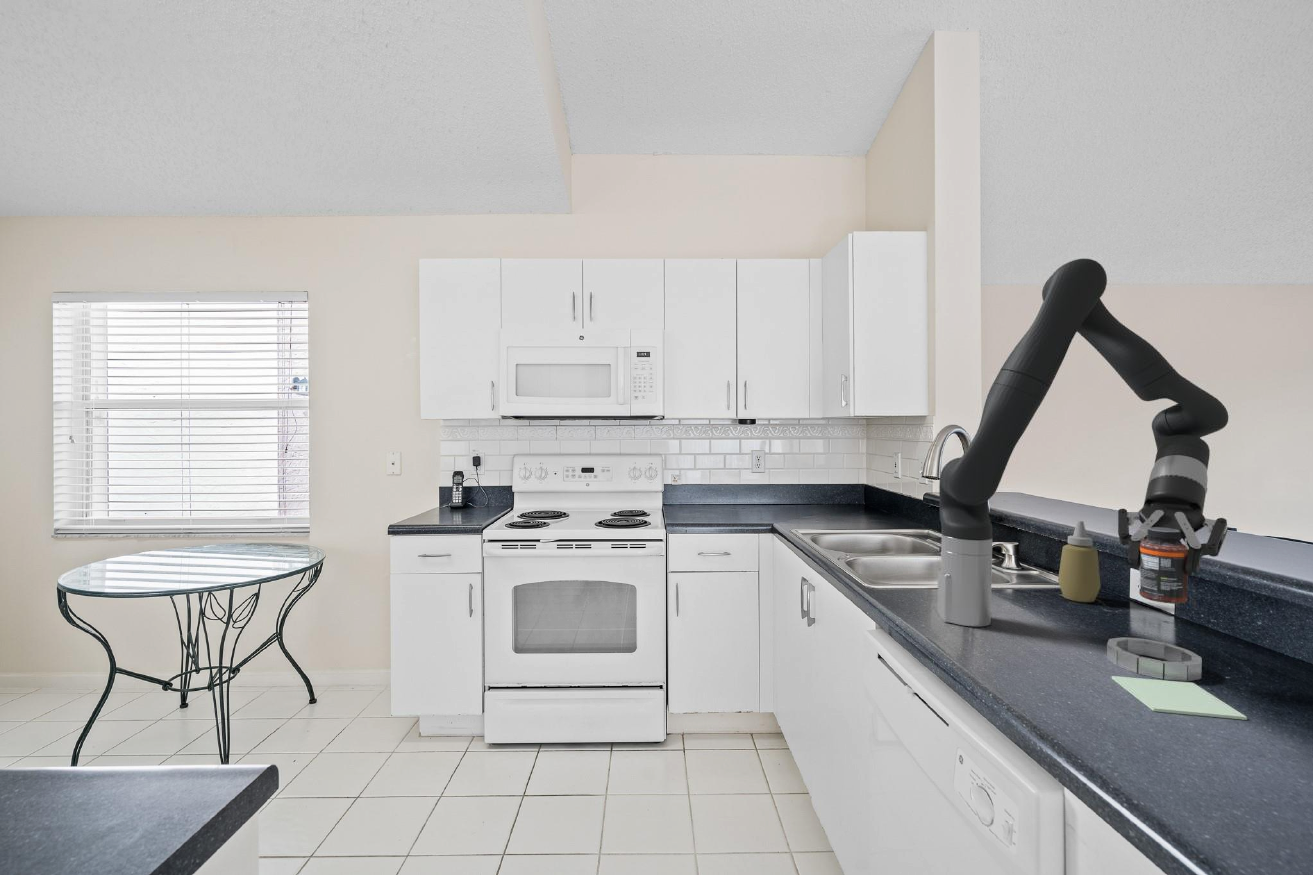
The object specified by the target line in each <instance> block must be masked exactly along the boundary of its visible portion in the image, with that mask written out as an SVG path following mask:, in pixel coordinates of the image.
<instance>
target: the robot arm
mask: <svg viewBox="0 0 1313 875" xmlns="http://www.w3.org/2000/svg"><path fill="white" fill-rule="evenodd" d="M1107 276H1108V275H1107V272H1106V270H1105V268H1104V267H1103V265H1102V264H1101V263H1099V262H1098V261H1096V260H1094V259H1091V258H1077V259H1073V260H1070V261H1068V262H1066V263H1064V264H1062V265H1061V266H1060V267H1058V268H1056V270H1055V271H1054V272H1053V273H1052V275H1050V277H1049V278H1048V279H1047V280H1046V282H1045V283H1044V285H1043V288H1042V290H1041V296H1042V304H1041V307H1040V309H1039V311H1038V313H1037V315H1036V318H1035V319H1034V321H1033V323H1032V324H1031V326H1030V327H1029V329H1028V330H1027V331H1026V332H1025V334H1024V335H1023V336H1022V337H1021V339H1020V340H1019V342H1017V344H1016V346H1014V348H1013V350H1011V352H1010V354H1009V355H1008V357H1007V358H1006V360H1005V361H1004V363H1003V365H1001V366H1002V367H1001V368H1000V370H999V371H998V373H997V375H996V377H995V379H994V381H993V383H992V385H991V387H990V389H989V391H988V393H987V396H986V399H985V403H984V406H983V411H982V414H981V417H980V422H979V425H978V428H977V431H976V434H975V435H974V437H973V438H972V440H971V442H970V443H969V446H968V447H967V448H966V450H965V452H963V455H962V456H961V457H957V458H954V459H951V460H949V461H948V462H947V463H946V464H945V465H944V466H943V468H942V470H941V471H940V475H939V484H938V485H939V487H938V488H939V490H938V491H939V492H938V494H939V497H938V498H939V500H938V501H939V520H940V524H941V548H940V549H941V550H940V552H941V556H940V560H941V561H940V568H938V570H937V614H938V616H939V617H940V618H941V620H942V621H943V622H944V623H951V624H955V625H960V626H965V627H966V626H967V627H977V628H978V627H987V626H989V625H991V624H992V623H991V621H992V620H991V619H992V578H993V577H992V570H993V568H992V565H993V525H992V522H991V519H990V515H989V500H991V498H992V497H993V496H994V495H995V493H996V491H997V490H998V488H999V485H1000V483H1001V481H1002V478H1003V475H1004V473H1005V471H1006V468H1007V466H1008V462H1009V460H1010V458H1011V456H1012V454H1013V452H1014V449H1015V447H1016V446H1017V443H1019V441H1020V440H1021V437H1023V434H1024V433H1025V431H1026V430H1027V428H1028V426H1029V425H1030V424H1031V421H1032V420H1033V417H1034V416H1035V415H1036V413H1037V411H1038V409H1039V407H1040V406H1041V404H1042V402H1043V400H1045V398H1046V395H1047V394H1048V392H1049V390H1050V389H1051V386H1052V384H1053V382H1054V380H1055V378H1056V376H1057V375H1058V372H1059V371H1060V368H1061V366H1062V363H1063V361H1064V360H1065V357H1066V354H1067V352H1068V351H1069V348H1070V346H1071V343H1072V341H1073V339H1074V337H1075V336H1076V334H1079V335H1080V336H1081V337H1083V338H1084V340H1085V341H1087V343H1089V344H1090V345H1091V346H1092V347H1093V348H1094V349H1095V350H1096V351H1097V352H1098V354H1100V355H1101V356H1102V358H1103V359H1105V361H1106V362H1107V363H1108V364H1109V365H1110V366H1111V367H1112V368H1113V370H1114V371H1115V372H1116V373H1117V374H1118V375H1119V376H1120V378H1121V379H1122V380H1123V381H1124V383H1126V385H1127V386H1128V387H1129V388H1130V389H1131V391H1132V392H1133V393H1134V394H1135V395H1136V396H1137V397H1138V398H1139V399H1140V400H1142V401H1143V402H1153V401H1158V400H1163V399H1165V400H1166V399H1167V400H1170V401H1172V402H1174V403H1176V404H1174V405H1172V406H1169V407H1167V408H1165V409H1162V410H1161V411H1159V412H1158V413H1157V414H1156V415H1155V416H1154V417H1153V419H1152V422H1151V430H1152V434H1153V436H1154V438H1153V439H1154V442H1155V445H1156V455H1155V459H1154V464H1153V467H1152V469H1151V471H1150V475H1149V478H1148V482H1147V483H1148V484H1147V488H1146V493H1145V498H1144V502H1143V506H1142V508H1141V509H1139V511H1128V510H1127V509H1126V508H1119V509H1118V511H1117V514H1118V515H1117V516H1118V517H1117V518H1118V519H1117V526H1118V527H1117V534H1118V540H1119V544H1120V545H1122V546H1129V548H1128V554H1127V559H1128V562H1129V564H1132V567H1133V568H1136V569H1137V568H1139V565H1140V544H1141V542H1143V541H1144V540H1146V539H1147V538H1148V535H1147V534H1148V528H1151V527H1160V528H1171V529H1176V530H1179V531H1180V537H1181V538H1180V541H1181V540H1182V541H1183V543H1184V545H1185V546H1186V547H1187V548H1188V555H1187V561H1186V575H1188V576H1189V577H1190V576H1191V577H1192V576H1193V574H1194V573H1195V574H1198V573H1199V572H1200V566H1201V562H1202V557H1204V556H1210V557H1211V558H1212V557H1213V558H1215V557H1217V556H1219V554H1220V551H1221V549H1222V546H1223V544H1224V541H1225V538H1226V536H1227V533H1228V521H1227V519H1226V518H1224V517H1218V518H1217V519H1211V518H1206V516H1205V515H1204V508H1205V502H1206V494H1207V492H1208V481H1209V480H1208V467H1209V462H1210V461H1209V460H1210V456H1211V455H1210V451H1211V450H1210V446H1209V444H1208V443H1207V442H1206V441H1205V440H1203V439H1202V438H1203V437H1205V436H1208V435H1212V434H1214V433H1216V432H1219V431H1221V430H1223V429H1224V428H1226V426H1227V424H1228V423H1229V414H1228V410H1227V408H1226V407H1225V405H1224V404H1223V403H1222V402H1221V400H1219V399H1218V398H1216V396H1214V395H1212V394H1210V393H1209V392H1207V391H1206V390H1205V389H1202V388H1201V387H1199V386H1198V385H1196V384H1194V383H1193V382H1191V380H1189V379H1187V378H1185V377H1184V376H1183V375H1181V374H1180V373H1178V372H1177V370H1176V369H1175V368H1174V366H1172V364H1171V363H1170V362H1169V361H1168V360H1167V359H1166V357H1164V356H1163V354H1161V352H1159V351H1158V350H1157V348H1155V347H1154V345H1153V344H1151V343H1149V341H1147V340H1145V338H1143V337H1142V336H1140V335H1139V334H1138V333H1135V332H1134V331H1133V330H1131V329H1130V328H1128V327H1127V326H1125V325H1124V324H1123V323H1122V322H1120V321H1119V320H1118V319H1117V318H1116V317H1115V316H1114V315H1113V314H1112V313H1111V312H1110V311H1109V310H1108V308H1107V306H1105V304H1104V302H1103V301H1102V299H1101V297H1102V296H1103V295H1104V293H1105V291H1106V289H1107V285H1108V277H1107ZM1135 521H1140V523H1141V525H1140V526H1139V528H1138V530H1137V531H1135V533H1134V534H1133V535H1132V534H1130V526H1133V525H1134V524H1135ZM1205 527H1206V528H1207V531H1208V532H1209V537H1208V539H1207V541H1206V543H1200V541H1199V539H1198V537H1197V535H1196V533H1197V532H1198V531H1200V530H1202V529H1204V528H1205Z"/></svg>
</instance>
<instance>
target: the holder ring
mask: <svg viewBox="0 0 1313 875" xmlns="http://www.w3.org/2000/svg"><path fill="white" fill-rule="evenodd" d="M1145 656H1147V657H1145ZM1149 657H1153V658H1157V659H1153V658H1149ZM1106 659H1107V660H1108V661H1109V662H1111V663H1112V664H1114V665H1115V666H1117V667H1119V668H1122V669H1125V670H1127V671H1130V672H1133V673H1135V674H1138V675H1141V676H1142V675H1143V676H1147V677H1152V678H1156V679H1159V680H1165V681H1177V682H1192V681H1197V680H1201V679H1202V672H1203V671H1202V664H1203V662H1202V660H1203V659H1202V656H1199V655H1198V654H1196V653H1195V652H1193V651H1191V650H1189V649H1186V648H1184V647H1180V646H1177V645H1174V644H1170V643H1167V642H1163V641H1158V640H1151V639H1146V638H1139V637H1138V638H1137V637H1125V636H1124V637H1115V638H1109V639H1108V641H1107V644H1106ZM1159 659H1162V660H1159Z"/></svg>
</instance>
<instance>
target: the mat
mask: <svg viewBox="0 0 1313 875" xmlns="http://www.w3.org/2000/svg"><path fill="white" fill-rule="evenodd" d="M1111 679H1112V680H1113V681H1114V682H1116V684H1118V685H1119V686H1121V687H1122V688H1123V689H1125V691H1127V692H1129V693H1130V694H1131V695H1132V696H1133V697H1135V698H1136V699H1137V700H1138V701H1140V702H1141V703H1142V704H1144V705H1145V706H1146V707H1148V708H1149V709H1150V710H1152V711H1153V712H1160V713H1167V714H1168V713H1169V714H1178V715H1179V714H1181V715H1188V716H1189V715H1190V716H1201V717H1212V718H1221V719H1231V720H1232V719H1233V720H1243V721H1247V720H1248V717H1247V716H1246V715H1245V714H1243V713H1241V712H1239V711H1238V710H1236V709H1235V708H1233V707H1232V706H1231V705H1229V704H1227V703H1225V702H1224V701H1222V700H1220V699H1219V698H1217V697H1216V696H1215V695H1213V694H1212V693H1209V692H1208V691H1206V690H1205V689H1204V688H1202V687H1200V686H1198V685H1197V684H1196V683H1195V682H1190V681H1177V680H1165V679H1154V678H1152V679H1151V678H1141V677H1140V678H1138V677H1129V676H1118V675H1112V676H1111Z"/></svg>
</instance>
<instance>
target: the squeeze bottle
mask: <svg viewBox="0 0 1313 875" xmlns="http://www.w3.org/2000/svg"><path fill="white" fill-rule="evenodd" d="M1076 521H1077V522H1076V524H1075V529H1074V531H1073V535H1068V536H1067V544H1065V545H1063V546H1062V550H1061V558H1060V562H1059V570H1058V571H1059V572H1058V578H1057V579H1058V580H1057V582H1058V584H1059V587H1060V590H1061V593H1062V596H1063V598H1064V599H1067V600H1070V601H1074V602H1079V603H1093V602H1095V600H1096V598H1097V596H1098V594H1099V592H1100V589H1101V576H1100V567H1099V566H1100V565H1099V555H1098V549H1097V548H1095V547H1093V538H1092V537H1090V536H1088V535H1087V531H1086V527H1085V522H1084V521H1082V520H1081V521H1080V520H1076Z"/></svg>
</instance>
